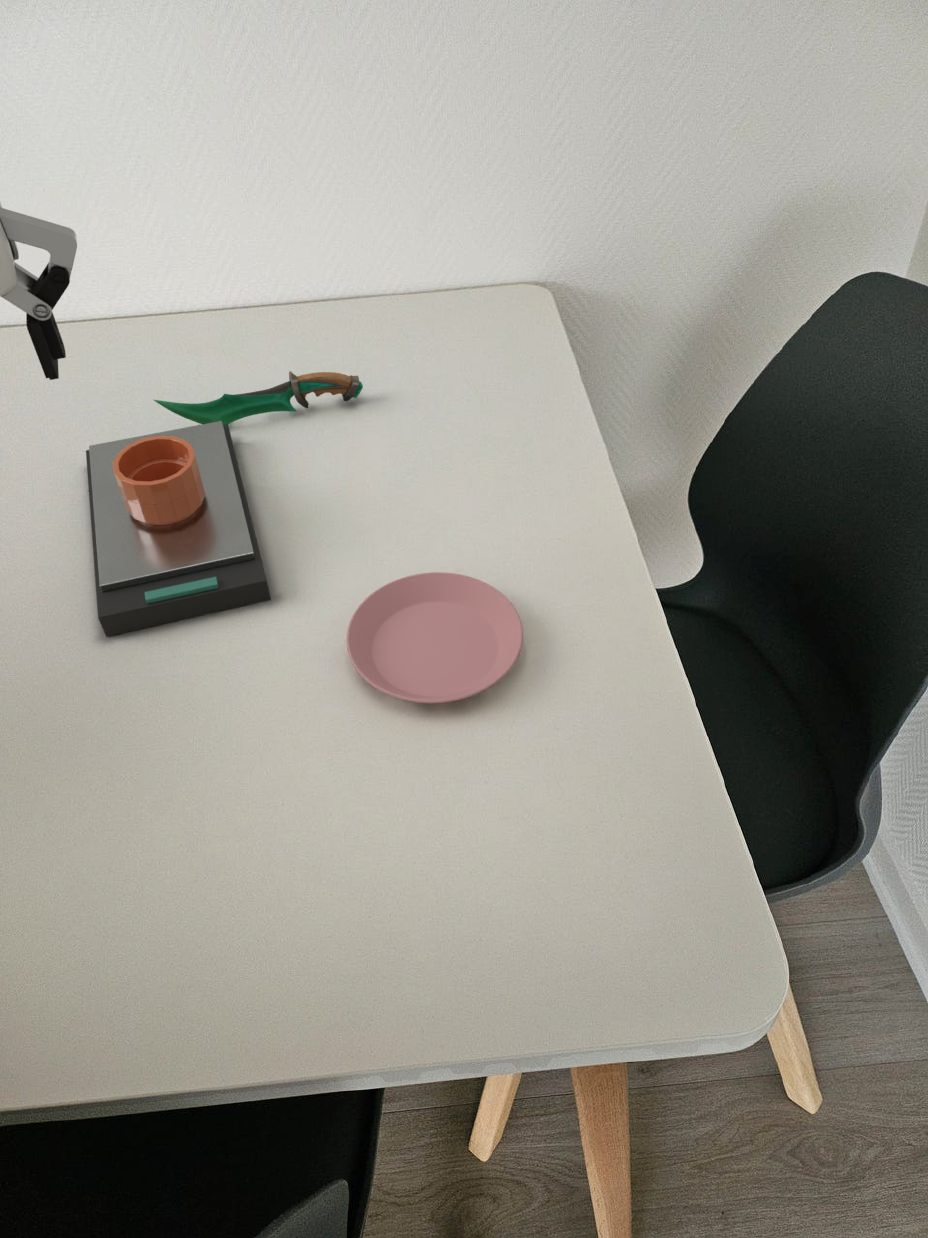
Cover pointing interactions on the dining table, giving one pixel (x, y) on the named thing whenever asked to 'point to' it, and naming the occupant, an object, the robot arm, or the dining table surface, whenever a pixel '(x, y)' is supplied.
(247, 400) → the knife
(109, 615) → the scale
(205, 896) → the dining table surface
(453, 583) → the plate
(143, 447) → the bowl
